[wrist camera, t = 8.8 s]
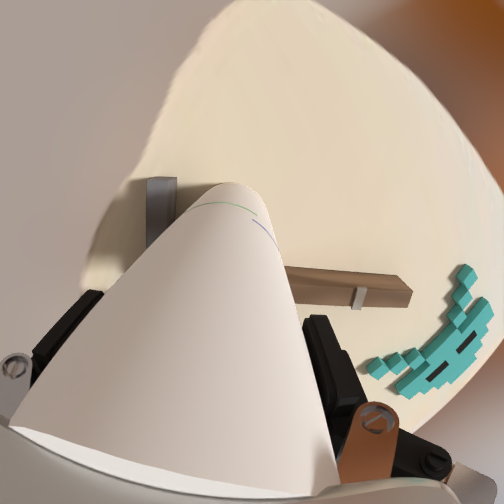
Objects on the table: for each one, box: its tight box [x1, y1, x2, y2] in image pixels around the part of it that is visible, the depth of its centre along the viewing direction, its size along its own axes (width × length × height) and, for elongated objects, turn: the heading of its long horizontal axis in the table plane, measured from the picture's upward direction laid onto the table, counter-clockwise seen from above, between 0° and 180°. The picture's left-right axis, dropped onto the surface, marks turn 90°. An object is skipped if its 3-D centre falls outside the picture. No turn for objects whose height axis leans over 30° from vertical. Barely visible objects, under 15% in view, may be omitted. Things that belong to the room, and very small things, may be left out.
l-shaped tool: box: [146, 177, 413, 310], centre depth 25 cm, size 10×27×4 cm, turn 84°
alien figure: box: [366, 264, 494, 400], centre depth 33 cm, size 20×2×20 cm
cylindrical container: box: [8, 183, 341, 499], centre depth 15 cm, size 7×7×25 cm
